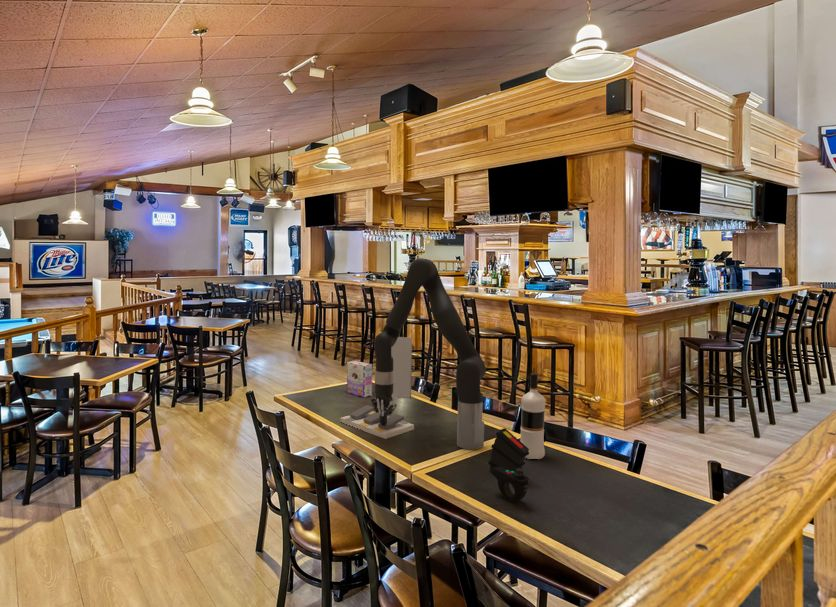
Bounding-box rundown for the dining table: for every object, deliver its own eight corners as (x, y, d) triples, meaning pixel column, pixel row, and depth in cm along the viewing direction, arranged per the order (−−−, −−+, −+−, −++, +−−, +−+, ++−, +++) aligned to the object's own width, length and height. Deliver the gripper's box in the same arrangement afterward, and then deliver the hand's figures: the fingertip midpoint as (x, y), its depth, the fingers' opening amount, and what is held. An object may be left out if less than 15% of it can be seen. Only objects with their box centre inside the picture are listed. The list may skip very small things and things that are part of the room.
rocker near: (404, 419, 211) (403, 416, 211) (386, 429, 204) (386, 427, 204) (395, 416, 215) (395, 413, 214) (378, 426, 208) (377, 424, 207)
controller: (520, 508, 146) (522, 474, 145) (488, 492, 156) (489, 460, 155) (530, 504, 149) (531, 470, 148) (498, 489, 159) (499, 457, 158)
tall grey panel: (411, 395, 264) (411, 337, 261) (409, 398, 258) (410, 339, 256) (383, 394, 265) (384, 336, 263) (381, 397, 260) (382, 338, 257)
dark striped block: (487, 461, 176) (504, 427, 170) (516, 488, 168) (535, 453, 162) (481, 464, 173) (497, 429, 168) (509, 492, 166) (528, 456, 160)
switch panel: (413, 429, 212) (414, 423, 212) (385, 438, 201) (385, 432, 200) (368, 414, 231) (368, 408, 231) (340, 422, 220) (340, 416, 219)
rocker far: (374, 409, 223) (374, 407, 223) (357, 419, 217) (356, 416, 216) (367, 407, 227) (366, 404, 227) (349, 416, 220) (349, 414, 220)
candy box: (372, 395, 262) (372, 364, 261) (363, 398, 258) (363, 365, 257) (355, 390, 272) (355, 360, 270) (346, 392, 267) (346, 361, 266)
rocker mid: (389, 414, 217) (388, 411, 217) (371, 424, 210) (371, 421, 210) (381, 411, 221) (380, 409, 220) (363, 421, 214) (363, 418, 214)
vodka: (512, 453, 187) (515, 372, 185) (531, 449, 192) (534, 369, 190) (531, 462, 180) (534, 377, 177) (550, 457, 185) (553, 374, 182)
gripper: (402, 383, 203) (401, 426, 204) (379, 377, 212) (378, 418, 214) (388, 386, 198) (387, 430, 199) (365, 380, 207) (365, 422, 208)
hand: (383, 424), depth 206 cm, fingers closed
